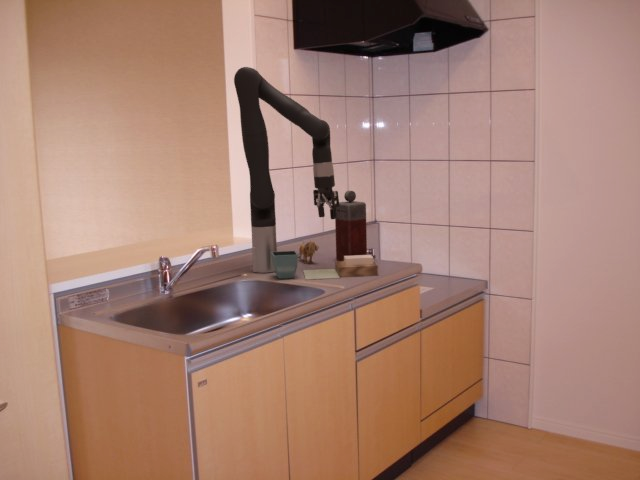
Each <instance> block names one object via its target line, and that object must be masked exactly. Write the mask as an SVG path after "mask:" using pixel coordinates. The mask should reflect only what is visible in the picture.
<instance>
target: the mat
mask: <svg viewBox="0 0 640 480" xmlns="http://www.w3.org/2000/svg"><path fill="white" fill-rule="evenodd" d="M302 273H303V276H304V277H305V281H314V279H316V280H335V279H340V278H341V277H339V276H338V274H337V272H336V270H335V268H327V269H325V268H322V269H304V270H302Z"/></svg>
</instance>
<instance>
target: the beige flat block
mask: <svg viewBox="0 0 640 480" xmlns="http://www.w3.org/2000/svg"><path fill="white" fill-rule="evenodd" d="M373 261H374V257H373V255H372V254H367V255H353V256H344V263H345V265H346V266H349V265H371V264H373Z"/></svg>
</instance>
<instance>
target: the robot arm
mask: <svg viewBox="0 0 640 480" xmlns="http://www.w3.org/2000/svg"><path fill="white" fill-rule="evenodd" d="M233 83H234V88H235V92H236V96H237V102H238V104H239V105H238V106H239V115H240V128H241V129H240V130H241V139H242V145H243V150H244V151H243V152H244V155H245V160H246V165H247V167H248V173H249V184H250V185H249V186H250V187H249V189H250V190H249V203H250V204H249V205H250V206H249V207H250V226H251V227H250V228H251V250H252V252H251V253H252V272H253V273H259V274H260V273H261V274H262V273H264V274H265V273H273V272H274V273H275V270H274V267H273V262H272V255H271V252H278V246H277V243H278V242H277V223H276V222H277V219H276V202H275V201H276V200H275V198H276V195H275V194H276V192H275V190H274V188H273V182H272V177H271V174H270V173H271V172H270V149H269V140H268V139H269V138H268V137H269V136H268V130H267V126H266V123H265V118H264V116H263V113H262V110H261V106H260V100H262V101H263V102H264V103H266V104H267V105H269V106H270V107H271V108H273V109H274V110H275V112H277V113H279V115H281V116H282V117H283V118H285V119H286V120H288V121H289V122H291V123H293V124H294V125H295V126H297V127H298V128H300V129H301V130H302V131H303V132H305V133H306V134H307V135H308V136H309V137H311V140H312V150H311V151H312V172H313V173H312V174H313V181H314V182H313V183H314V188H315V189H313V192H312V193H313V205H314V206H316V208H317V211H318V217H319V218H324V217H325V216H326V214H325V207H324V206H325V204H327V206H328V208H329V215H330V219H331V220H335V219H336V218H337V215H336V208H337V207H339V202H340V199H339V192H338V190H333V188H334V187H335V186H336V183H335V182H336V181H335V174H334V173H335V172H334V171H335V170H334V165H333V158H332V157H333V155H332V149H331V130H330V129H331V128H330V125H329V123H328V122H327V121H325V120H323V119H320V118H319V117H317V116H315V115H314V114H312V113H311V112H310V111H309V109H307V108H306V107H305V106H303V105H302V104H300V103H299V102H297V101H295V100H294V99H292V97H289V96H288V95H286V94H285V93H283V92H281V91H280V90H278V89H277V88H275V86H273V85H272V84H271V83H269V82H268V80H267V79H265V78H264V77H263V76H262V75H261V74H260V73H259V71H258V70H257V69H255V68H252V67H249V66H243V67H240V68H238V69H237V71H236V72H235V74H234V77H233Z"/></svg>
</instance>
